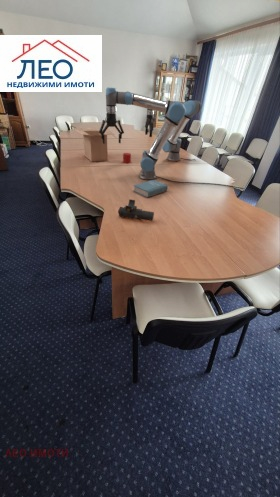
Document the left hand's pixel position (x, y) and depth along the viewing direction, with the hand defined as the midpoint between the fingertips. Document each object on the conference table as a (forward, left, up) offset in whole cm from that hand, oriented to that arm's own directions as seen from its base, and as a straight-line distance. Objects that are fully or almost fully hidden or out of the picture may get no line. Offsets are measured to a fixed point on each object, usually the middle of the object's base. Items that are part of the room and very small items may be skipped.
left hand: (111, 143), depth 179 cm
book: (-31, +27, -29) cm, 51 cm away
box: (+18, -67, -29) cm, 75 cm away
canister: (-16, -55, -29) cm, 64 cm away
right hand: (-42, -85, -7) cm, 95 cm away
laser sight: (-15, +72, -29) cm, 79 cm away
